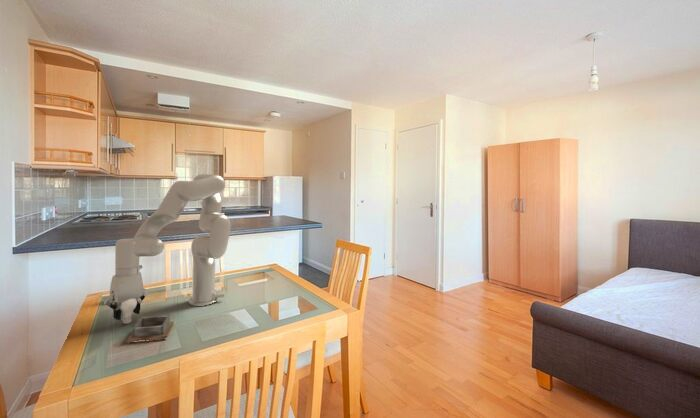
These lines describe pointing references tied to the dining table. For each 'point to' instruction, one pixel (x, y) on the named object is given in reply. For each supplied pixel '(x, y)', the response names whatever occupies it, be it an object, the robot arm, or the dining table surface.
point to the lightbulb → (128, 309)
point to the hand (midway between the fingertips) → (127, 315)
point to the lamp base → (151, 329)
